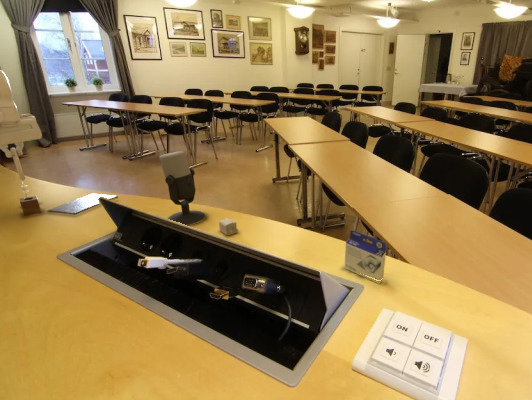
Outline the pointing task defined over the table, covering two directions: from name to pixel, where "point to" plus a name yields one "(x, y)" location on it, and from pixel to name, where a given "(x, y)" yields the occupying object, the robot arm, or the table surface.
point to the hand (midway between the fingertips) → (15, 156)
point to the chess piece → (25, 189)
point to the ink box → (365, 256)
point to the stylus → (18, 164)
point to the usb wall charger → (228, 226)
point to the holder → (30, 205)
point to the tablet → (81, 204)
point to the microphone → (181, 186)
